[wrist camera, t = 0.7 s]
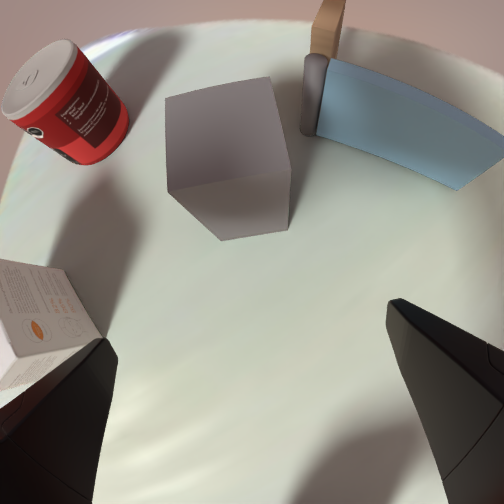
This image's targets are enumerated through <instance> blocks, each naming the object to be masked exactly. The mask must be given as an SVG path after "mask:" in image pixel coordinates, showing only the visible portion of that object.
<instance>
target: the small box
mask: <svg viewBox="0 0 504 504" xmlns="http://www.w3.org/2000/svg"><path fill="white" fill-rule="evenodd" d="M95 338H103V337H102V336H101V334H100V333H99V331H98V330H97V328H96V327H95V325H94V323H93V322H92V320H91V318H90V317H89V315H88V313H87V312H86V310H85V308H84V307H83V305H82V303H81V301H80V300H79V298H78V296H77V294H76V292H75V291H74V289H73V287H72V285H71V283H70V282H69V280H68V278H67V276H66V274H65V272H64V270H62V269H56V268H50V267H44V266H38V265H32V264H26V263H20V262H15V261H9V260H4V259H0V391H2V390H6V389H10V388H14V387H17V386H21V385H25V384H29V383H33V382H36V381H38V380H40V379H41V378H42V377H44V376H45V375H46V374H48V373H49V372H50V371H52V370H53V369H55V368H56V367H57V366H59V365H60V364H61V363H63V362H64V361H65V360H67V359H68V358H69V357H71V356H72V355H73V354H75V353H76V352H77V351H79V350H80V349H82V348H83V347H84V346H86V345H87V344H88V343H90V342H91V341H92V340H94V339H95Z"/></svg>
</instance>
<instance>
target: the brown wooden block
mask: <svg viewBox="0 0 504 504" xmlns="http://www.w3.org/2000/svg"><path fill="white" fill-rule="evenodd" d="M345 3H346V0H324V1H323V3H322V5H321V7H320V9H319V12H318V14H317V16H316V18H315V20H314V23H313V25H312V30H311V45H310V54H311V53H317V54H321V55H323V56H324V57H326V59H327V61H328V64H327V69H328V66H329V63H330V60H331V58H333V59H336V57H337V52H338V46H339V40H340V34H341V28H342V21H343V16H344V9H345ZM326 74H327V70H326ZM325 80H326V77H325ZM324 86H325V83H324ZM323 92H324V89H323ZM322 98H323V95H322ZM321 104H322V101H321ZM320 110H321V107H320ZM319 116H320V113H319Z"/></svg>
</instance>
